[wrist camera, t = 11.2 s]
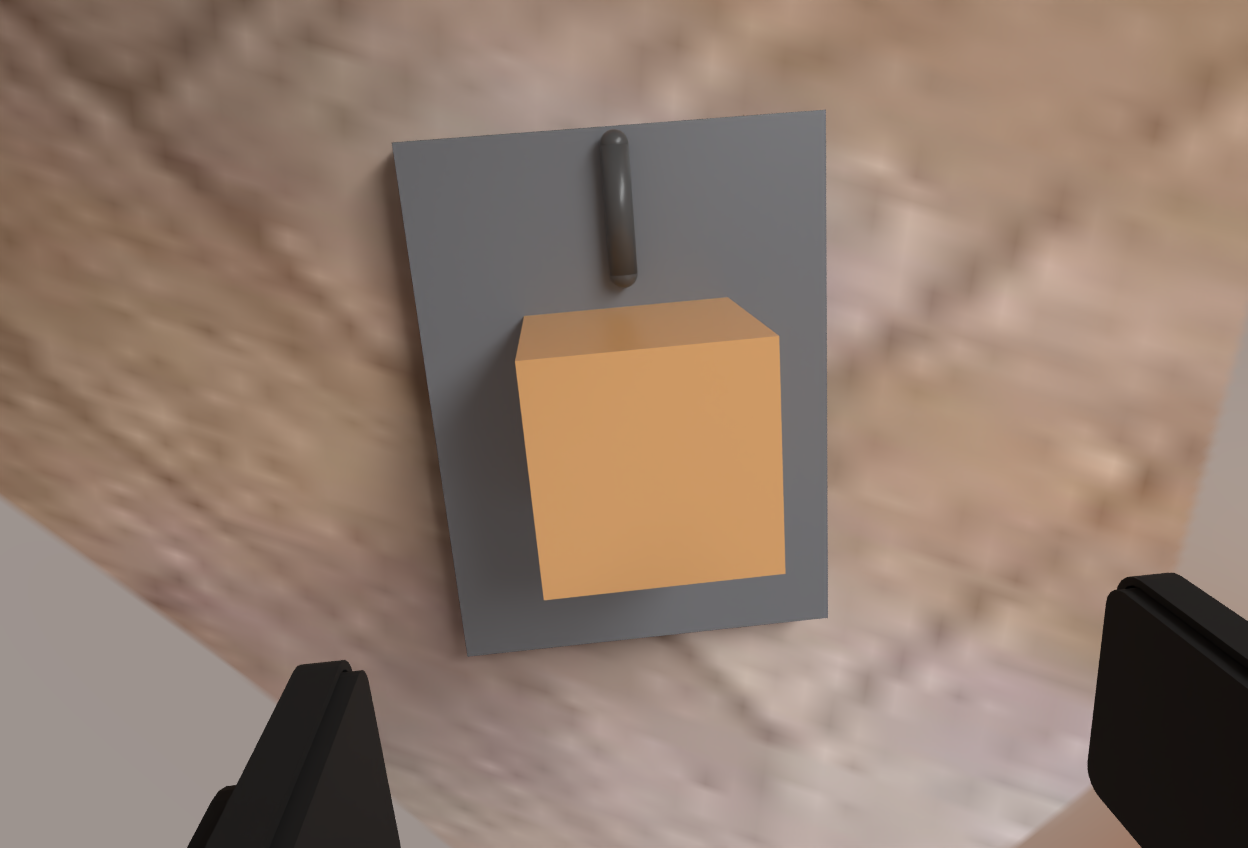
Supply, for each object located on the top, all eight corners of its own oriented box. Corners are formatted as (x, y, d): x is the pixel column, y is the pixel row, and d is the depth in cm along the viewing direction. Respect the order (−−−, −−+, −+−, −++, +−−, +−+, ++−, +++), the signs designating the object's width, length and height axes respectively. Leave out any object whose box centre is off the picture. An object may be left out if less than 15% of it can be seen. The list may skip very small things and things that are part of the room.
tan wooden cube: (523, 316, 25) (515, 360, 19) (727, 297, 25) (779, 336, 19) (546, 506, 27) (544, 600, 21) (735, 486, 27) (785, 574, 21)
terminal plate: (401, 144, 25) (359, 138, 19) (810, 112, 25) (877, 98, 20) (471, 632, 29) (453, 734, 24) (814, 595, 30) (870, 687, 25)
